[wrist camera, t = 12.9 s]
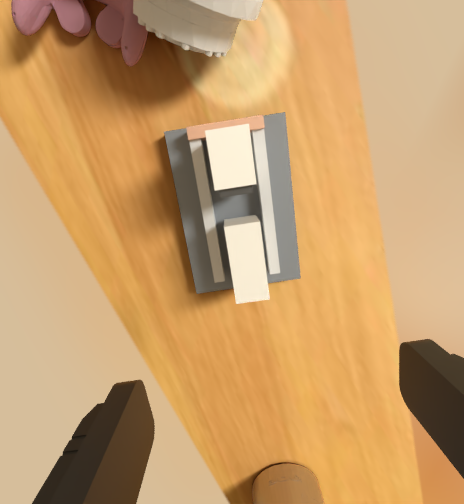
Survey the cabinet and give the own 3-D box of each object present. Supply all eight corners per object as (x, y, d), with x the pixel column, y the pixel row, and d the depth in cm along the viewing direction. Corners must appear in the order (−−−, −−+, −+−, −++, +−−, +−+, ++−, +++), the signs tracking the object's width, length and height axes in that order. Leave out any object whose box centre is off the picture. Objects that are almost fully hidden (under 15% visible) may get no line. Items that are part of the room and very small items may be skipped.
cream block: (269, 299, 25) (260, 221, 23) (236, 303, 25) (223, 226, 23) (263, 280, 29) (254, 214, 28) (234, 284, 29) (224, 218, 28)
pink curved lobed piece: (151, 76, 26) (164, -19, 23) (133, 66, 22) (146, -52, 19) (44, 45, 25) (43, -57, 23) (4, 27, 21) (-2, -100, 18)
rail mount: (297, 273, 31) (322, 309, 23) (198, 288, 31) (187, 328, 23) (281, 115, 27) (306, 89, 18) (167, 134, 27) (141, 116, 19)
